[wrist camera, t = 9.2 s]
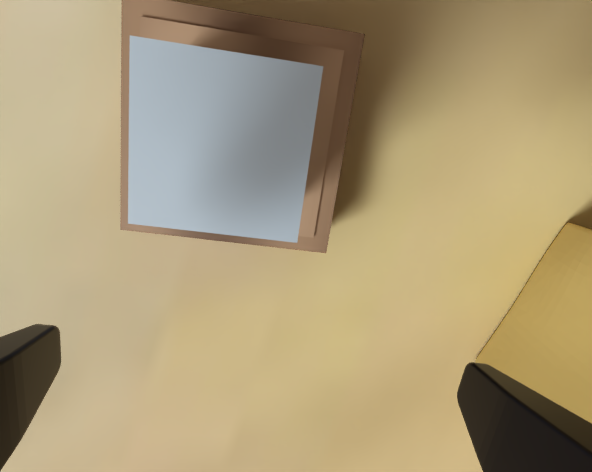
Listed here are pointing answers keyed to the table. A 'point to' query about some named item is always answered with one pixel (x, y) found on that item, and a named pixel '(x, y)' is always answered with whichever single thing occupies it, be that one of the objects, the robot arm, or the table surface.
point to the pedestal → (267, 43)
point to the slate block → (218, 139)
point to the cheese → (552, 326)
